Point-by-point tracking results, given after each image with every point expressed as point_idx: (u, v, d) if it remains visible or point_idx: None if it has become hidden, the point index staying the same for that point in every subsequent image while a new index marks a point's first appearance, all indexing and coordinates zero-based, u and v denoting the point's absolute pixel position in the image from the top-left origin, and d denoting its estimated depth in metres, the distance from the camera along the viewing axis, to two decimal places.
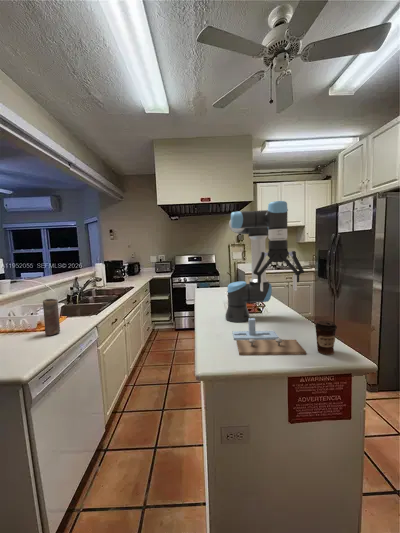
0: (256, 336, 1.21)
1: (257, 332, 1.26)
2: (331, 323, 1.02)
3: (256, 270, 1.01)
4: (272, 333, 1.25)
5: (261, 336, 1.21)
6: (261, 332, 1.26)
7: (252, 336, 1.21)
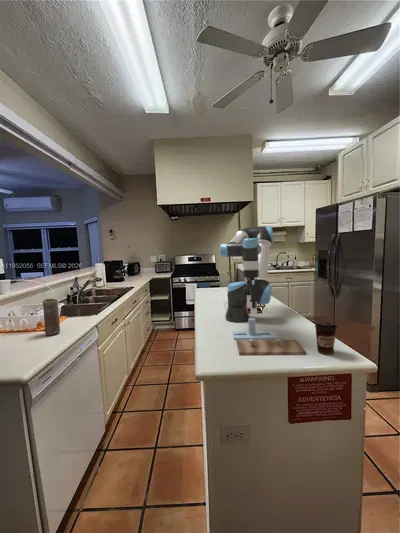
0: (256, 336, 1.21)
1: (257, 332, 1.26)
2: (331, 323, 1.02)
3: (246, 290, 1.31)
4: (272, 333, 1.25)
5: (261, 336, 1.21)
6: (261, 332, 1.26)
7: (252, 336, 1.21)
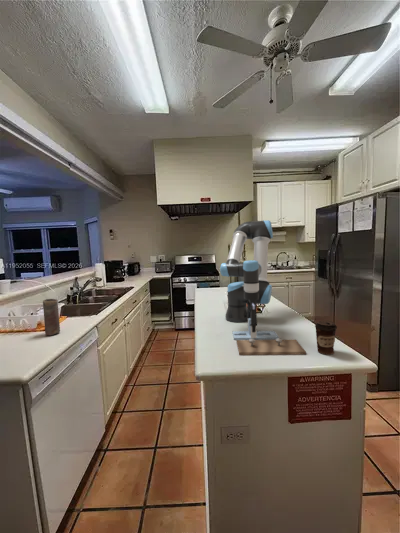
0: None
1: (257, 332, 1.26)
2: (331, 323, 1.02)
3: (247, 313, 1.31)
4: (272, 333, 1.25)
5: (261, 336, 1.21)
6: (261, 332, 1.26)
7: None
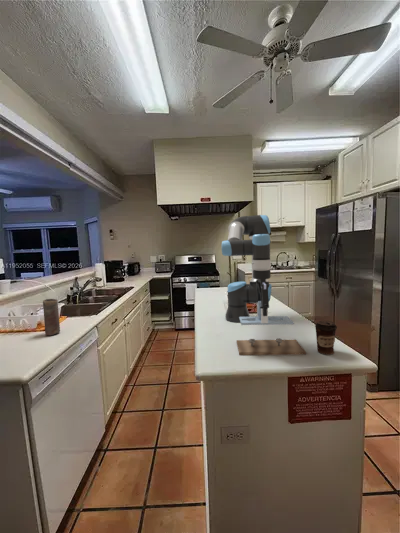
0: None
1: (268, 317, 1.10)
2: (331, 323, 1.02)
3: (256, 296, 1.15)
4: (285, 318, 1.09)
5: (273, 321, 1.05)
6: (272, 317, 1.10)
7: None
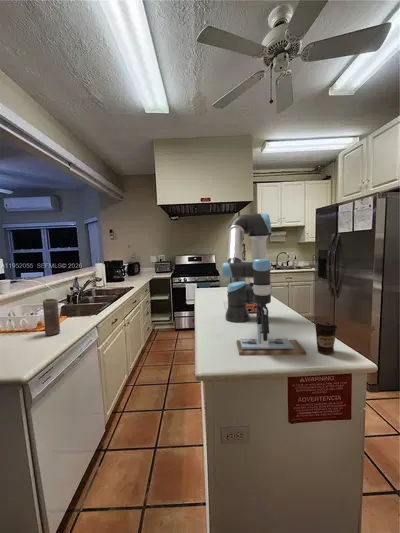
0: None
1: (268, 340, 1.12)
2: (331, 323, 1.02)
3: None
4: (285, 341, 1.10)
5: (273, 345, 1.06)
6: (272, 340, 1.11)
7: None
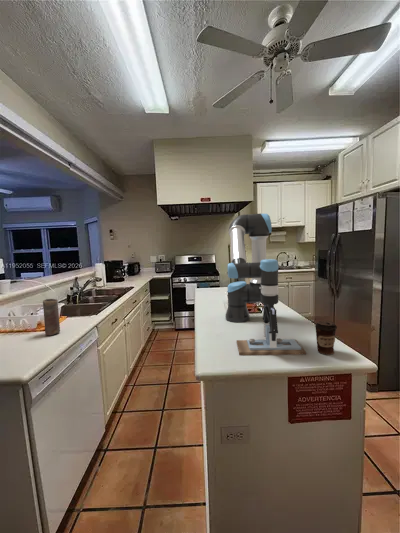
0: None
1: None
2: (331, 323, 1.02)
3: (263, 317, 1.17)
4: (293, 342, 1.10)
5: (281, 346, 1.06)
6: None
7: None
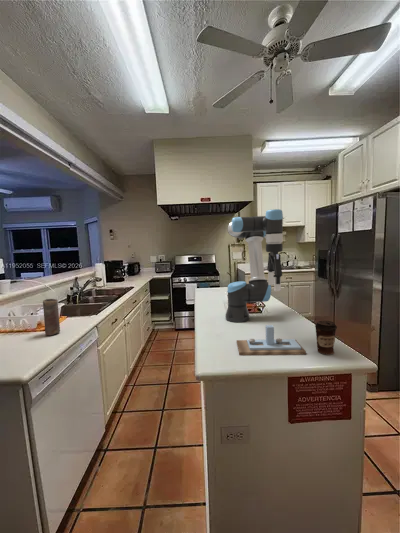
0: (275, 346, 1.06)
1: (275, 341, 1.12)
2: (331, 323, 1.02)
3: (267, 267, 1.24)
4: (293, 342, 1.10)
5: (281, 346, 1.06)
6: None
7: (270, 346, 1.07)
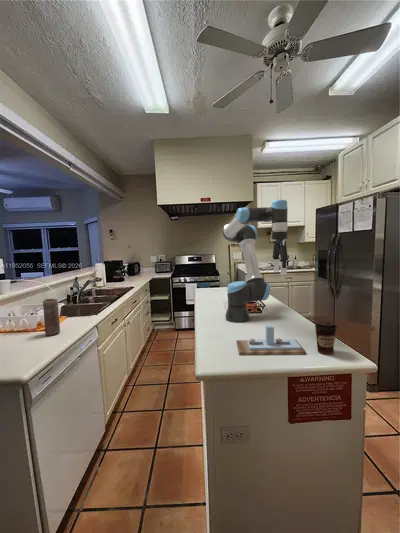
0: (275, 346, 1.06)
1: (275, 341, 1.12)
2: (331, 323, 1.02)
3: (273, 255, 1.33)
4: (293, 342, 1.10)
5: (281, 346, 1.06)
6: None
7: (270, 346, 1.07)
